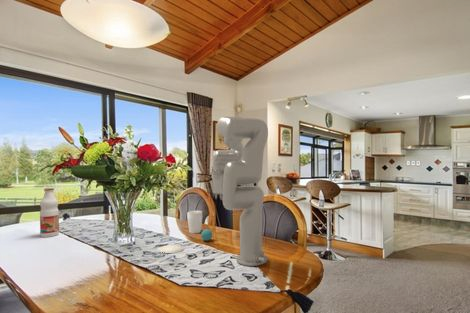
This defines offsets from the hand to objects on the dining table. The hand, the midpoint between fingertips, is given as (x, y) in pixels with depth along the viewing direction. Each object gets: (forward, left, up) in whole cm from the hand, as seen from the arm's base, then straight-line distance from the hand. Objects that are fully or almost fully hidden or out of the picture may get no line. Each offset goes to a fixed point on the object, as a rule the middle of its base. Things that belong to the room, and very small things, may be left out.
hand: (220, 206), depth 158 cm
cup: (+20, +4, -17) cm, 27 cm away
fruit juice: (+74, +71, -17) cm, 104 cm away
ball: (0, +9, -14) cm, 17 cm away
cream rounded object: (0, +30, -17) cm, 35 cm away
